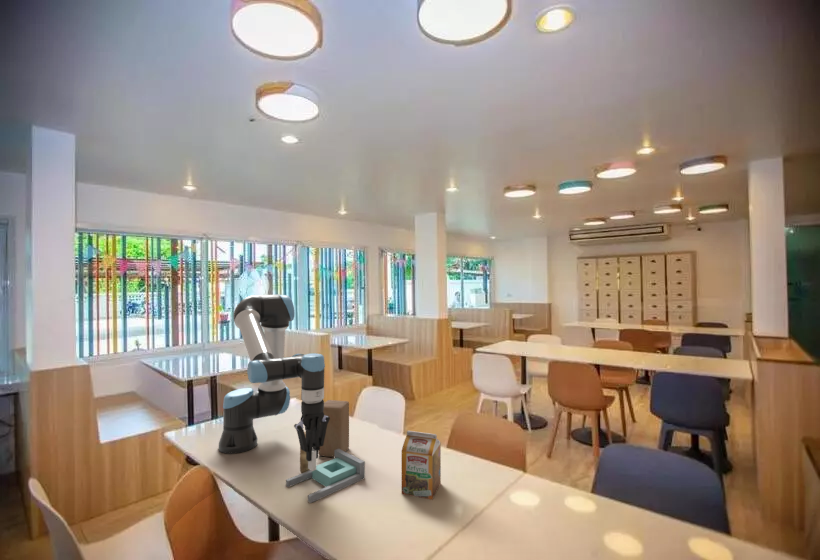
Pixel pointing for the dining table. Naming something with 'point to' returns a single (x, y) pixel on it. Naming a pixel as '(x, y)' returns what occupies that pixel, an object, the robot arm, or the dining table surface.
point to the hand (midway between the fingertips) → (312, 468)
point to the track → (338, 485)
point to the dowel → (303, 460)
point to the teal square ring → (333, 471)
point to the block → (336, 427)
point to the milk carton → (421, 465)
